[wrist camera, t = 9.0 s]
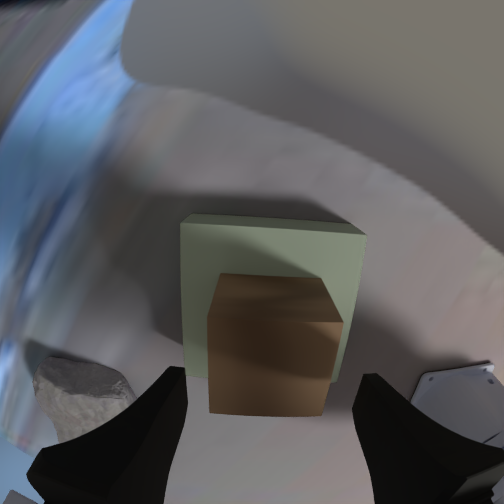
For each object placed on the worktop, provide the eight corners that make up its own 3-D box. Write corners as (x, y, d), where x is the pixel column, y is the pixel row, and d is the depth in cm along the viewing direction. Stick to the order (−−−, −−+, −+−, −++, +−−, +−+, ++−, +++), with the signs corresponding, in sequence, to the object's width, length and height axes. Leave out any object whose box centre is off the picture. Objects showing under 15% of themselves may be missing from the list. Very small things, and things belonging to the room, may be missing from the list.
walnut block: (321, 278, 17) (343, 322, 12) (308, 359, 18) (321, 416, 14) (220, 272, 17) (207, 316, 12) (219, 356, 18) (209, 413, 14)
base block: (351, 224, 19) (367, 234, 16) (328, 357, 22) (336, 382, 19) (191, 213, 19) (180, 222, 16) (193, 350, 22) (185, 375, 19)
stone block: (137, 355, 25) (38, 348, 23) (130, 393, 20) (19, 381, 18) (154, 437, 28) (72, 430, 26) (154, 472, 24) (63, 461, 22)
